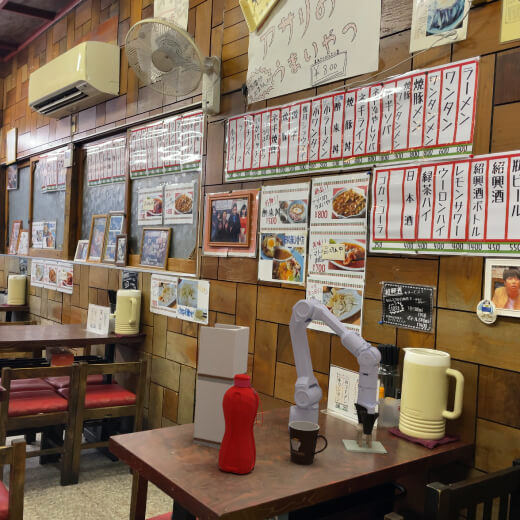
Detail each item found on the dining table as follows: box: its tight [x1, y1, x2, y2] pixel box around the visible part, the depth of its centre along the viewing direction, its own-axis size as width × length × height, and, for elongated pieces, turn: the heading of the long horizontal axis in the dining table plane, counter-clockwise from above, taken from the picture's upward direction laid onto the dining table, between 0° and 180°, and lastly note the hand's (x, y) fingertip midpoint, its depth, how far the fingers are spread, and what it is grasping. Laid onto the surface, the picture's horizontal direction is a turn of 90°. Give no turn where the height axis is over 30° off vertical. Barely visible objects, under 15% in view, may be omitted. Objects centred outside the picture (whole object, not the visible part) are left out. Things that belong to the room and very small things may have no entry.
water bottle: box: [218, 374, 264, 475], centre depth 144 cm, size 9×11×25 cm
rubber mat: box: [341, 439, 388, 454], centre depth 168 cm, size 12×9×1 cm
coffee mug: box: [288, 421, 329, 466], centre depth 152 cm, size 12×9×10 cm
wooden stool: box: [355, 423, 375, 448], centre depth 168 cm, size 5×5×6 cm
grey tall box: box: [192, 323, 250, 450], centre depth 164 cm, size 11×11×35 cm
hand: (364, 430), depth 168 cm, fingers open, 7 cm apart
